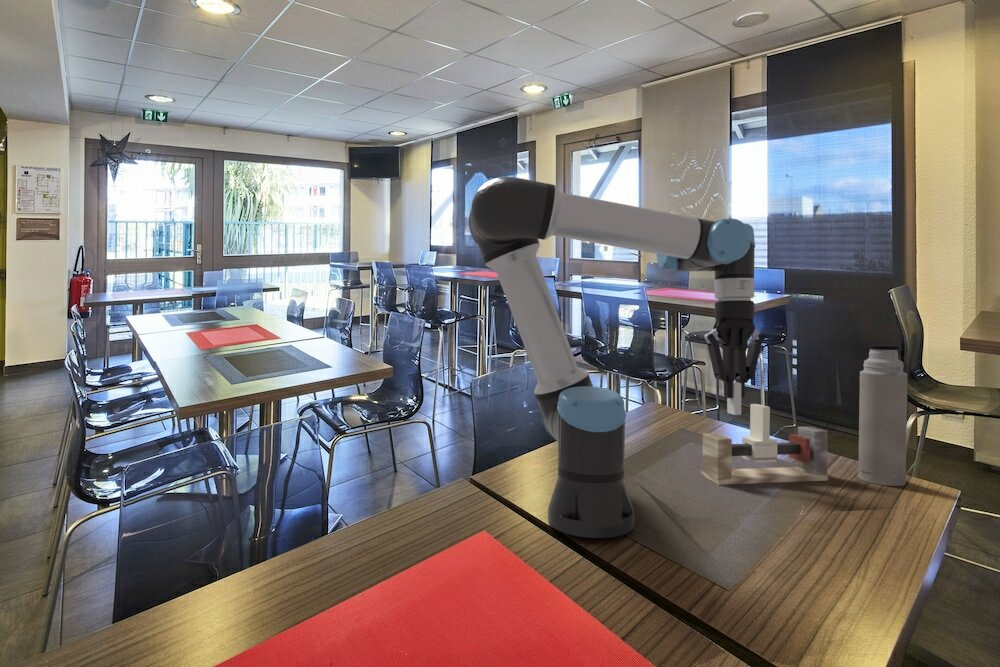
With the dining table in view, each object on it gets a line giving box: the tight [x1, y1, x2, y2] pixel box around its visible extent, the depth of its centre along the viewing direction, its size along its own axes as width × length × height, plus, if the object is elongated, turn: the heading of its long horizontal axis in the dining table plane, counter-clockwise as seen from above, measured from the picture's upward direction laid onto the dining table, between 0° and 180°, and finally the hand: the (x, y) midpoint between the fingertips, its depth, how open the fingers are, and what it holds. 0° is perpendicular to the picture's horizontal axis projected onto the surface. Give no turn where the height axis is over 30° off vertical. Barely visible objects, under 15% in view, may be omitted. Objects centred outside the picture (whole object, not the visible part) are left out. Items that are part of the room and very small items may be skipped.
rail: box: [700, 426, 829, 486], centre depth 112 cm, size 24×7×10 cm, turn 97°
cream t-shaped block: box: [741, 403, 778, 464], centre depth 112 cm, size 5×4×11 cm
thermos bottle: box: [857, 344, 908, 487], centre depth 110 cm, size 8×8×28 cm
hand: (734, 413), depth 111 cm, fingers closed
